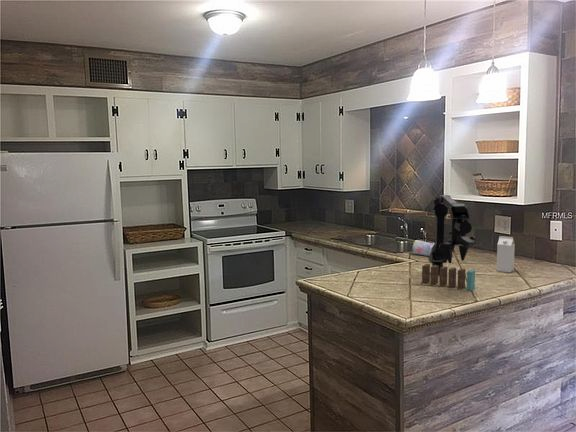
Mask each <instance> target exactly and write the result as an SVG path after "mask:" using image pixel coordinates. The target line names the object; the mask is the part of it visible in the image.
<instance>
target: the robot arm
mask: <svg viewBox="0 0 576 432" xmlns="http://www.w3.org/2000/svg"><path fill="white" fill-rule="evenodd" d="M430 207H431V212H432V215H433V216H434V217H435V218H434V243H435V244H434V246H433V247H432V249H431V253H430V255H429V256H428V262H429V264H431V267H432V266H434V265H438V266H439V272H438V276H440V268H441V267H443V266H444V264H447V263H448V264H452V261H453V253H454V252H455V247H458V248H459V249H458V250H459V255H460V259H461V261H463V262H464V261H465V258H466V255H467V253H468V251H469V250H470V249H472V248H473V247H474V246H475V244H476V243H477V242H476V241H477V238H476V236H474V235H472V236H467V235H468V234H469V233H471V232H472V229H473V228H472V227H473V226H472V224H471V223H470V222H469V220H470V213H469V210H468V208H467V206H466V204H464V203H462V202H461V203H459V202H456V201H455V199H453V198H452V197H451V195H449V194H442V195H441V194H440V195H439V197H438V198H435V199H434V200H433V201H432V202H431V205H430ZM448 214H449V217H450V231H449V232H448V235H450V239H449V240H448V242H445V218H446V217H447V215H448Z"/></svg>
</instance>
